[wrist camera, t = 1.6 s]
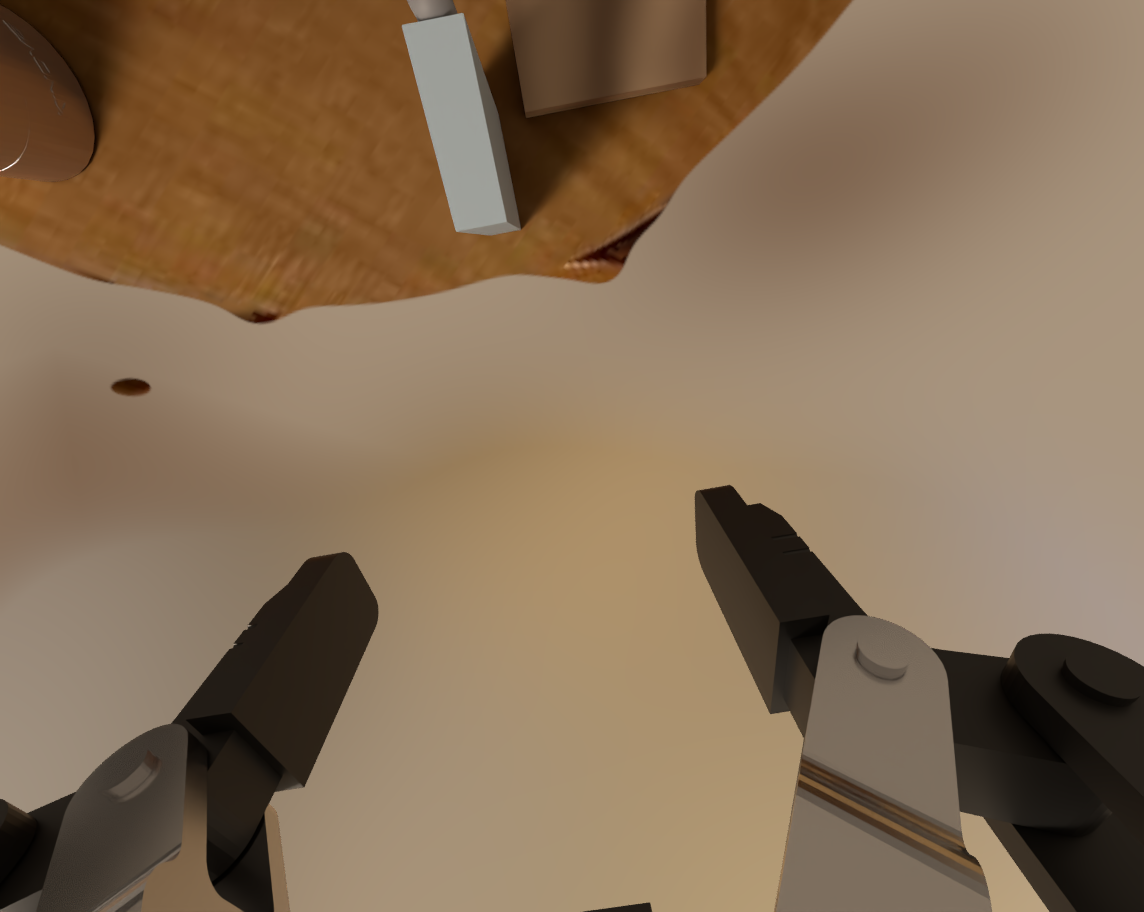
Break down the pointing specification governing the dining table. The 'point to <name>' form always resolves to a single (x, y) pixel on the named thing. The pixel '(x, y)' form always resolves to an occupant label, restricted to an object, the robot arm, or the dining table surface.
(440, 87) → the cabinet door
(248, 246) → the dining table surface
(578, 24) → the hinge frame
